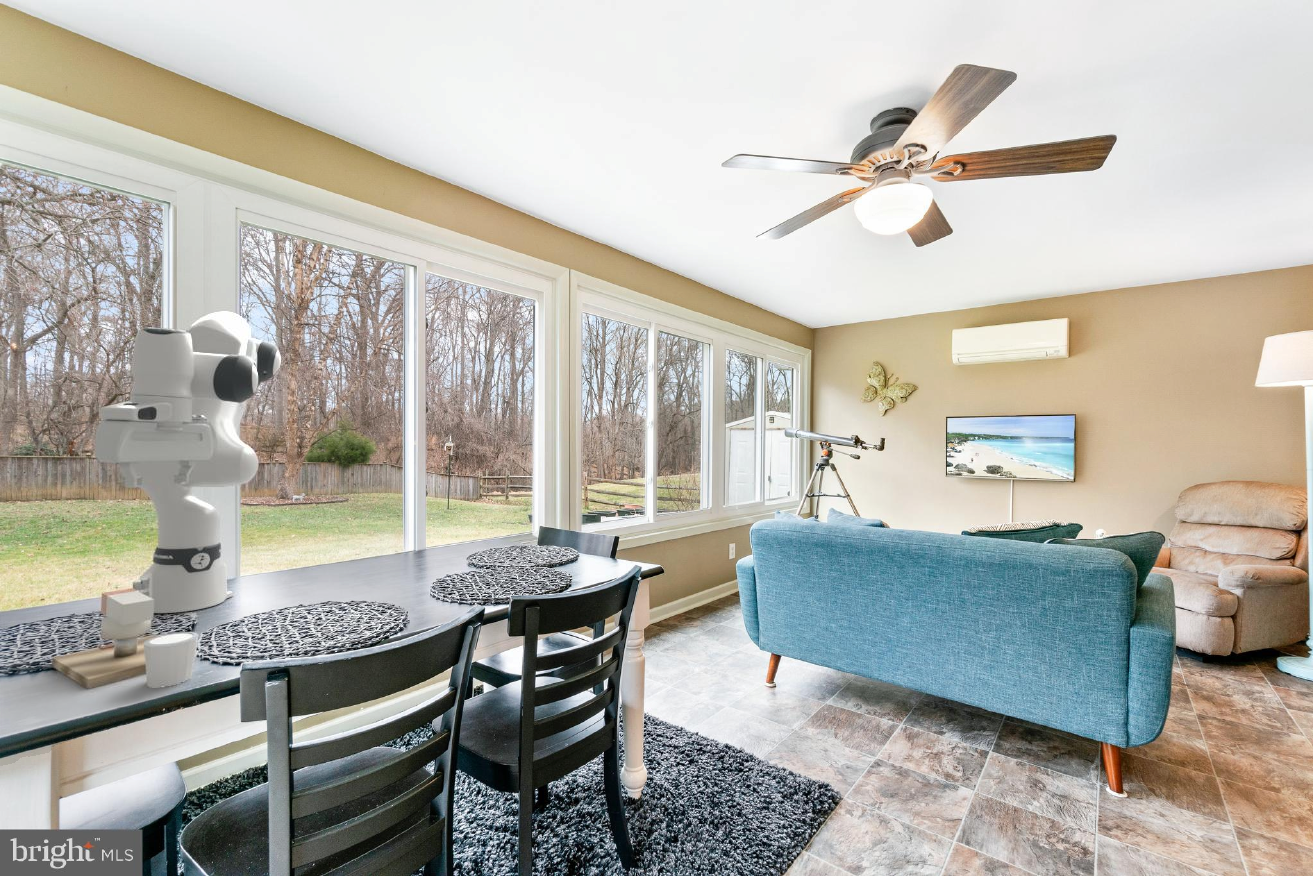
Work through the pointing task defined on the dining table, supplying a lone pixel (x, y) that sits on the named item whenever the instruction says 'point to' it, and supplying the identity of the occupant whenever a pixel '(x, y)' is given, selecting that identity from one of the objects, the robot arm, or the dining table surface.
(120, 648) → the post
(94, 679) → the base plate
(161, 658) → the white tapered cup
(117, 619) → the orange-ended white bar
